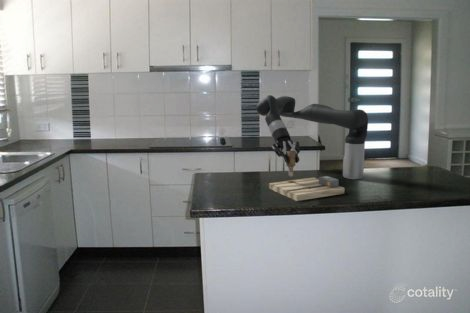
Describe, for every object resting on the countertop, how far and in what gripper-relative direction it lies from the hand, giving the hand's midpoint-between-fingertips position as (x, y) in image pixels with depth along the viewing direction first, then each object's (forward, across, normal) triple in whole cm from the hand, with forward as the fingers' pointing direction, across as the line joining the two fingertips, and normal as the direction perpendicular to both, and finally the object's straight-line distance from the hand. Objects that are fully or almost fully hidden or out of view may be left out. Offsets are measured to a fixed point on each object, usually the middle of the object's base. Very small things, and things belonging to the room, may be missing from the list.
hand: (293, 162), depth 187 cm
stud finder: (+14, -12, 0) cm, 18 cm away
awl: (+3, 0, -6) cm, 7 cm away
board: (+13, -2, -4) cm, 14 cm away
